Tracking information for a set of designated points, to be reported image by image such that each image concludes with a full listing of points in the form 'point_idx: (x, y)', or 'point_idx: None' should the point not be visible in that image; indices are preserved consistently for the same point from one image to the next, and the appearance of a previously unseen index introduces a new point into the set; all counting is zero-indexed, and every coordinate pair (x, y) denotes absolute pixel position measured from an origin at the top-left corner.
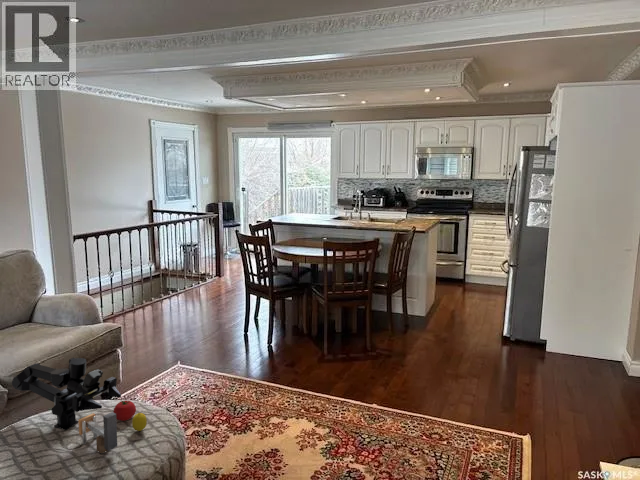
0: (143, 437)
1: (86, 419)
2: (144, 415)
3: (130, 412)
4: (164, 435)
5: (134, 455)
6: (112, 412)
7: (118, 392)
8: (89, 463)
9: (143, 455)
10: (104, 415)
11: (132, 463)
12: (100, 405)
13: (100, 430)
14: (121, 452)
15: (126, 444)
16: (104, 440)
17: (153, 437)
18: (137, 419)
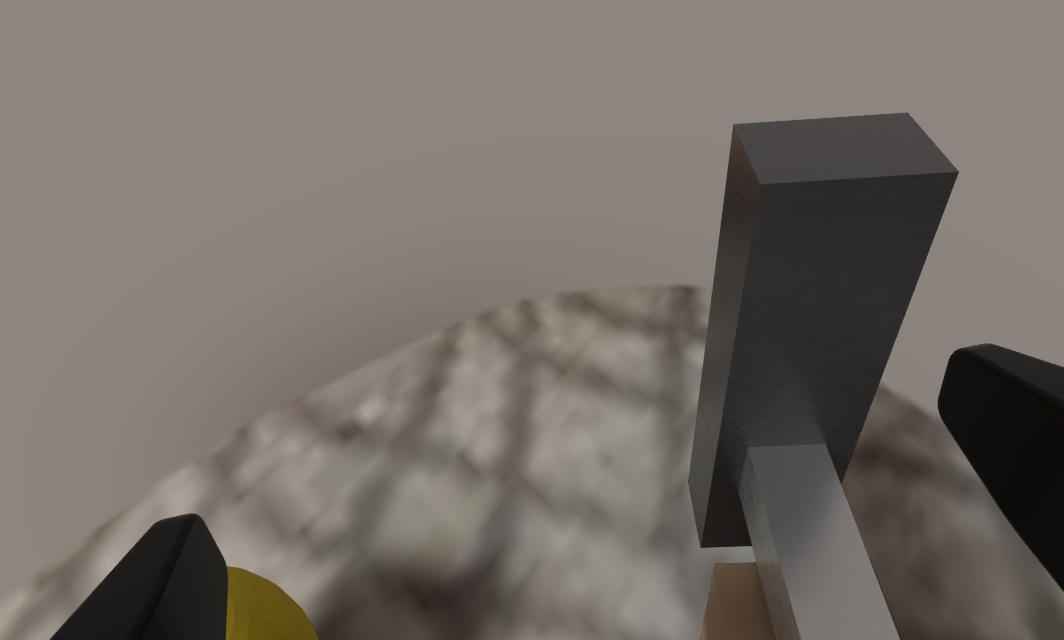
0: (347, 585)
1: None
2: None
3: None
4: (232, 470)
5: (584, 415)
6: (769, 172)
7: (87, 628)
8: (977, 595)
9: (537, 374)
10: (934, 170)
11: (648, 353)
12: (1008, 350)
13: (869, 609)
14: (643, 524)
15: (535, 607)
16: (841, 472)
17: (302, 513)
18: (260, 595)
